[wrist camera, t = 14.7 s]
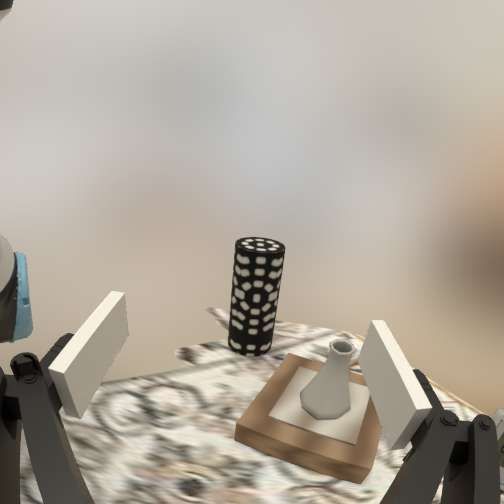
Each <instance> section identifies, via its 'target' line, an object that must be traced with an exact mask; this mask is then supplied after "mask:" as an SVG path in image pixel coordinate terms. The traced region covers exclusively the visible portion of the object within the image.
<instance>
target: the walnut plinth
mask: <svg viewBox="0 0 504 504" xmlns="http://www.w3.org/2000/svg"><path fill="white" fill-rule="evenodd" d="M323 365H324V364H322V363H318V362H315V361H312V360H309V359H306V358H303V357H300V356H297V355H294V354H291V353H288V354H287V356H286V357H285V359H284V360H283V361H282V363H281V364H280V366H279V367H278V368H277V370H276V371H275V373H274V374H273V375H272V377H271V378H270V379H269V381H268V382H267V384H266V385H265V386H264V388H263V389H262V390H261V392H260V393H259V394H258V396H257V397H256V398H255V400H254V401H253V402H252V403H251V405H250V406H249V407H248V409H247V410H246V411H245V412H244V414H243V415H242V416H241V418H240V419H239V420H238V421H237V423H236V431H235V440H236V441H238V442H240V443H242V444H245V445H247V446H249V447H251V448H254V449H256V450H259V451H261V452H263V453H266V454H268V455H271V456H274V457H276V458H279V459H281V460H284V461H287V462H290V463H292V464H295V465H298V466H301V467H304V468H307V469H310V470H313V471H316V472H319V473H322V474H325V475H329V476H332V477H336V478H339V479H343V480H346V481H350V482H354V483H358V484H361V483H362V481H363V480H364V479H365V477H366V476H367V475H368V473H369V472H370V471H371V469H372V466H373V462H374V458H375V454H376V450H377V446H378V442H379V438H380V434H381V429H382V426H381V423H380V420H379V417H378V415H377V412H376V409H375V406H374V403H373V400H372V398H371V395H370V392H369V389H368V387H367V384H366V381H365V378H364V376H362V375H359V374H355V373H352V372H348V379H349V393H350V403H351V409H350V410H348V411H347V412H346V413H344V414H343V415H342V416H340V417H339V418H331V419H317V418H315V417H314V416H313V415H312V414H310V413H309V412H308V411H307V410H305V409H304V408H303V407H302V403H301V397H300V392H301V391H302V390H303V388H304V387H305V386H306V385H307V384H308V383H309V382H310V381H311V380H312V379H313V378H314V376H315V375H316V374H317V373H318V372H319V370H320V369H321V368H322V367H323Z"/></svg>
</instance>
